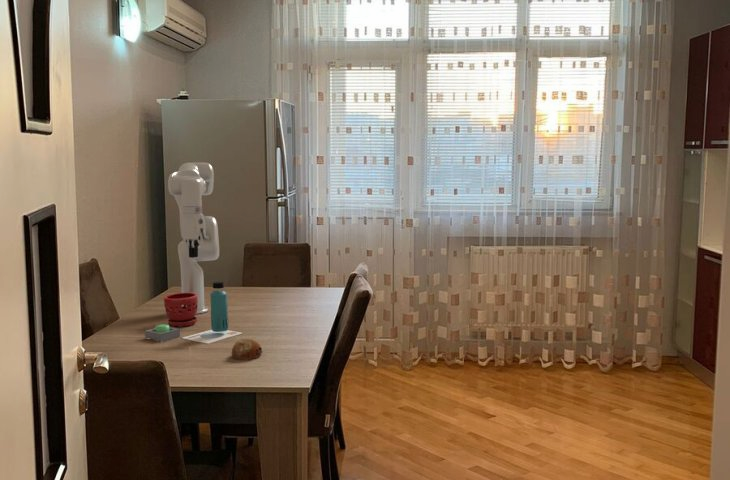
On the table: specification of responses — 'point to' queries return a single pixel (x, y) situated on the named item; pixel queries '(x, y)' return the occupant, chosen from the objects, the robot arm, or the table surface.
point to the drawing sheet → (211, 336)
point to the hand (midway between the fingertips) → (193, 257)
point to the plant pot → (181, 308)
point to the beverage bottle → (219, 308)
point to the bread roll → (246, 349)
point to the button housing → (162, 334)
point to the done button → (162, 328)
